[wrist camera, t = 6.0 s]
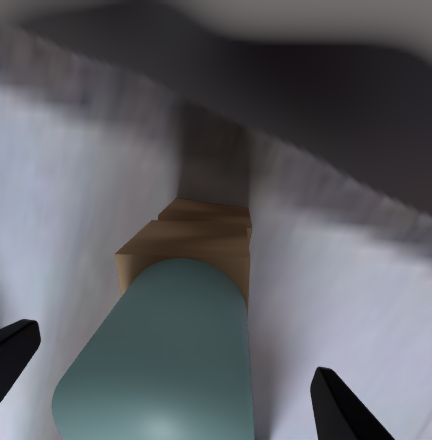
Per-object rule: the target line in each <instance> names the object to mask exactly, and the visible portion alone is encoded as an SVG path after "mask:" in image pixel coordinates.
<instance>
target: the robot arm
mask: <svg viewBox="0 0 432 440" xmlns="http://www.w3.org/2000/svg"><path fill="white" fill-rule="evenodd" d="M40 342H41V337H40V331H39V325H38V322H37V321H35V320H29V319H22V320H19V321H17V322H15V323H13V324H10V325H8V326H6V327H4V328H1V329H0V402H1V401H2V400H3V398H4V397H5V396H6V394H7V393H8V392H9V390H10V389H11V387H12V386H13V384H14V383H15V381H16V380H17V378H18V377H19V375H20V374H21V373H22V371H23V370H24V368H25V367H26V365H27V364H28V362H29V361H30V359H31V358H32V356H33V355H34V354H35V352H36V351H37V349H38V347H39V345H40ZM310 393H311V399H312V405H313V411H314V417H315V423H316V429H317V435H318V440H395V439H394V438H393V437H392V436H391V434H390V433H389V432H388V431H387V430H386V429H385V428H384V427H383V425H382V424H381V423H380V422H379V421H378V420H377V419H376V418H375V416H374V415H373V414H372V413H371V412H370V411H369V410H368V409H367V408H366V406H365V405H364V404H363V403H362V402H361V401H360V400H359V399H358V397H357V396H356V395H355V394H354V393H353V392H352V391H351V390H350V388H349V387H348V386H347V385H346V384H345V383H344V382H343V381H342V379H341V378H340V377H339V376H338V375H337V374H336V373H335V372H334V371H333V370H332V369H330V368H325V367H318V368H317V369H316V371H315V374H314V377H313V380H312V383H311V387H310Z"/></svg>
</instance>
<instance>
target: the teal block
mask: <svg viewBox="0 0 432 440" xmlns="http://www.w3.org/2000/svg"><path fill="white" fill-rule="evenodd" d="M52 414H53V418H54V422H55V424H56V427H57V429H58V431H59V433H60V434H61V436H62V438H63V439H64V440H255V436H254V418H253V402H252V386H251V370H250V354H249V337H248V321H247V308H246V303H245V300H244V297H243V295H242V293H241V291H240V289H239V288H238V286H237V285H236V283H235V282H234V281H233V280H232V279H231V278H230V277H229V276H228V275H226V274H225V273H224V272H223V271H221V270H219V269H218V268H216V267H214V266H212V265H210V264H208V263H205V262H202V261H198V260H194V259H186V258H174V259H167V260H163V261H160V262H157V263H155V264H152V265H150V266H149V267H147V268H146V269H144V270H143V271H142V272H141V273H139V275H138V276H137V277H136V278H135V279H134V281H133V282H132V283H131V285H130V286H129V287H128V289H127V290H126V291H125V293H124V294H123V296H122V297H121V298H120V300H119V301H118V302H117V304H116V305H115V306H114V308H113V309H112V311H111V312H110V313H109V315H108V316H107V317H106V319H105V320H104V321H103V323H102V324H101V325H100V327H99V328H98V330H97V331H96V332H95V334H94V335H93V336H92V338H91V339H90V340H89V342H88V343H87V345H86V346H85V347H84V349H83V350H82V351H81V353H80V354H79V355H78V357H77V358H76V359H75V361H74V362H73V364H72V365H71V366H70V368H69V369H68V370H67V372H66V373H65V374H64V376H63V377H62V379H61V380H60V381H59V383H58V385H57V387H56V388H55V391H54V394H53V399H52Z"/></svg>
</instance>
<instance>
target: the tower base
mask: <svg viewBox="0 0 432 440" xmlns="http://www.w3.org/2000/svg"><path fill="white" fill-rule="evenodd" d="M158 220H162V221H228V222H246V228H247V237H248V245H249V243H250V238H251V233H252V224H251V219H250V214H249V208H242V207H235V206H228V205H221V204H213V203H206V202H199V201H192V200H185V199H178V198H176V199H175V200H174V201H173V202H172V203H171V204H170V205H169V206H167V207H166V208H165V209H164V210H163V211H162V212H161V213H160V214H159V215H158Z"/></svg>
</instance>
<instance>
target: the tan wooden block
mask: <svg viewBox="0 0 432 440" xmlns="http://www.w3.org/2000/svg"><path fill="white" fill-rule="evenodd" d="M174 258H186V259H194V260H198V261H202V262H205V263H208V264H210V265H212V266H214V267H216V268H218V269H219V270H221V271H223V272H224V273H225V274H226V275H228V276H229V277H230V278H231V279H232V280H233V281H234V282H235V283H236V285H237V286H238V288H239V289H240V291H241V293H242V295H243V297H244V300H245V303H246V308H247V321H248V298H249V272H250V254H249V245H248V237H247V228H246V222H228V221H162V220H151V221H150V222H149V223H148V224H147V225H146V226H145V227H144V228H143V229H142V230H141V231H139V232H138V233H137V234H136V235H135V236H134V237H133V238H132V239H131V240H130V241H129V242H127V243H126V244H125V245H124V246H123V247H122V248H121V249H120V250H119V251H118V252H117V253H115V259H116V265H117V272H118V278H119V284H120V290H121V296H123V294H124V293H125V291H126V290H127V289H128V287H129V286H130V285H131V283H132V282H133V281H134V279H135V278H136V277H137V276H138V275H139V273H141V272H142V271H143V270H144V269H146V268H147V267H149V266H150V265H152V264H155V263H157V262H160V261H163V260H167V259H174Z"/></svg>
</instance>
